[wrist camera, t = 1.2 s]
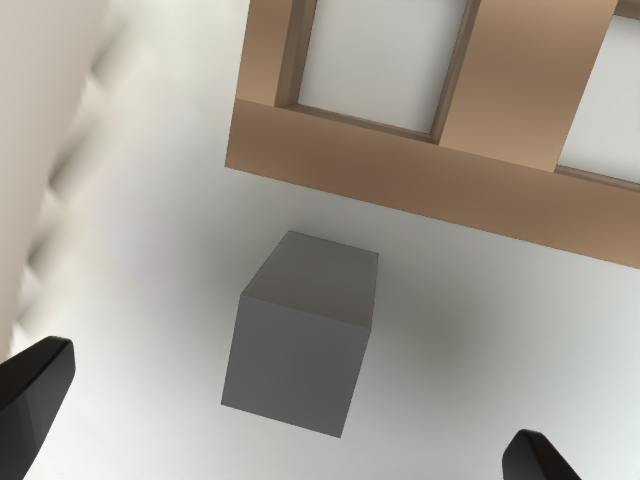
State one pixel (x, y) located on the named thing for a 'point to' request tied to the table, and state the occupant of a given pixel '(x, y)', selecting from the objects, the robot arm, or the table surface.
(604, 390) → the table surface
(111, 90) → the table surface
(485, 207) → the socket board
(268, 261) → the grey upright block
